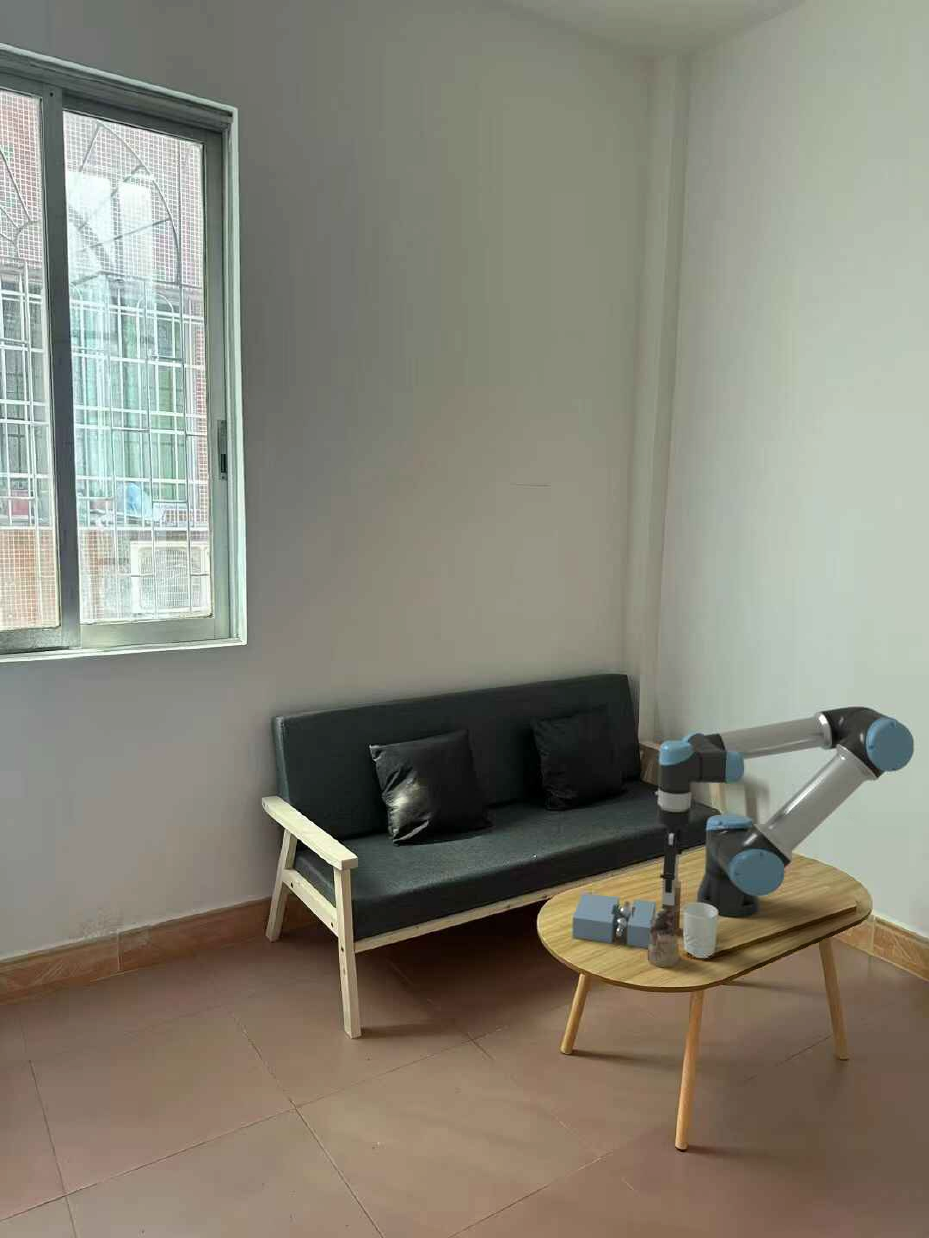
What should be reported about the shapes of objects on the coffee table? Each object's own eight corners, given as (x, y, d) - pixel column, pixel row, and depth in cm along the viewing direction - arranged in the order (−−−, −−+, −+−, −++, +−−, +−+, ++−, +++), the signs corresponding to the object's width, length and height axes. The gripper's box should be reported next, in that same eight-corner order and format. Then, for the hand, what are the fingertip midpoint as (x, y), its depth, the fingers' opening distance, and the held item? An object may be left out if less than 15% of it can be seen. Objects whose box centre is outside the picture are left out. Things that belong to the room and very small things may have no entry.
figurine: (656, 948, 206) (658, 899, 204) (684, 958, 201) (686, 908, 200) (640, 960, 200) (642, 910, 199) (669, 971, 196) (670, 919, 194)
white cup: (690, 939, 210) (691, 899, 209) (722, 949, 205) (724, 908, 204) (675, 952, 204) (676, 911, 203) (707, 963, 199) (709, 921, 198)
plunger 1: (633, 910, 222) (633, 899, 221) (630, 922, 215) (630, 910, 215) (620, 908, 223) (621, 897, 222) (617, 920, 216) (617, 908, 216)
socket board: (654, 921, 219) (655, 901, 219) (649, 948, 206) (650, 927, 205) (582, 911, 224) (582, 892, 224) (572, 937, 211) (572, 917, 210)
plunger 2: (628, 928, 212) (628, 916, 212) (625, 941, 206) (625, 928, 206) (615, 926, 213) (616, 914, 213) (612, 939, 207) (612, 927, 207)
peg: (679, 928, 216) (680, 881, 214) (678, 935, 212) (679, 887, 210) (662, 925, 217) (663, 879, 215) (661, 933, 213) (662, 885, 211)
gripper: (661, 788, 223) (658, 869, 226) (652, 822, 199) (649, 912, 202) (692, 792, 221) (688, 873, 224) (687, 826, 197) (683, 917, 200)
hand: (670, 892), depth 213 cm, fingers open, 13 cm apart
